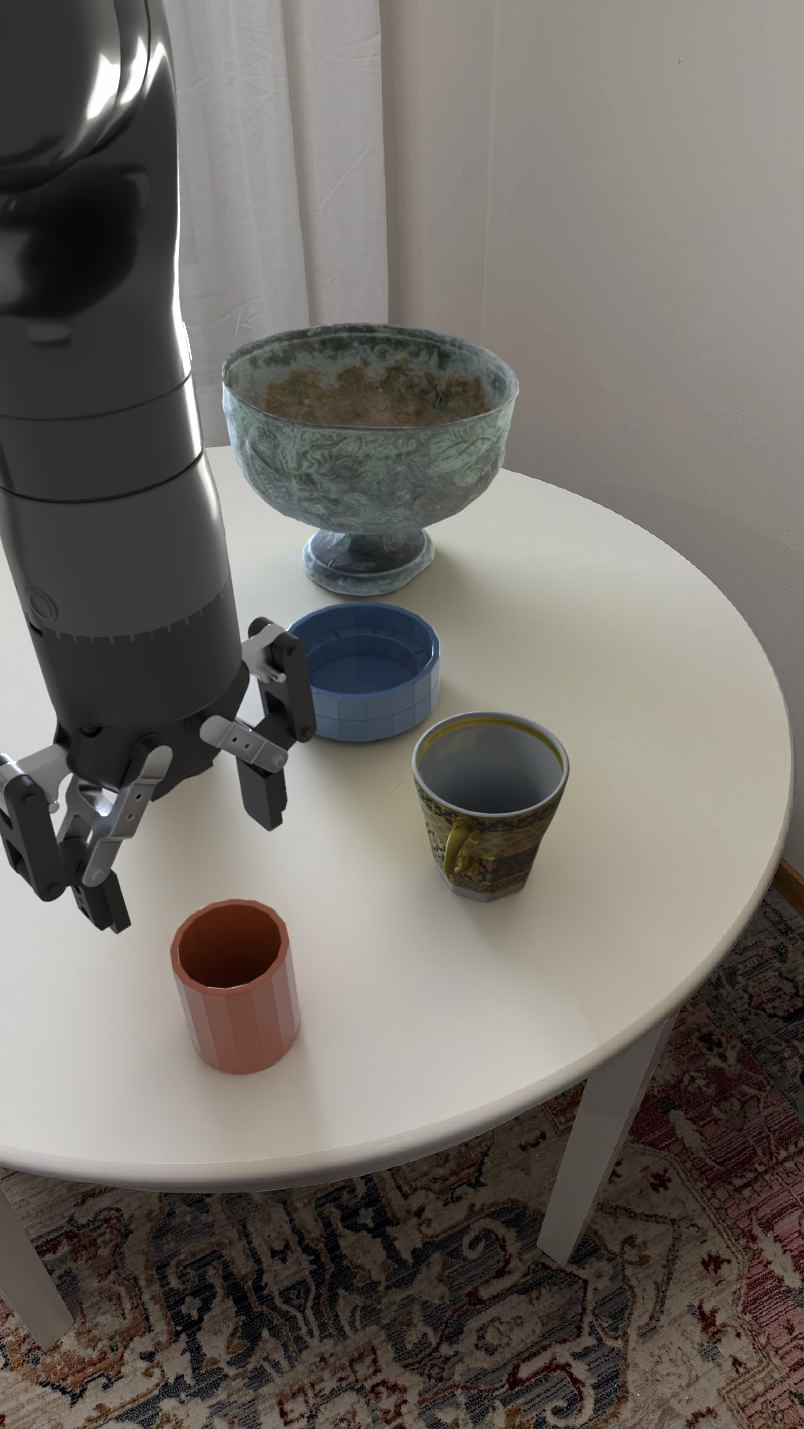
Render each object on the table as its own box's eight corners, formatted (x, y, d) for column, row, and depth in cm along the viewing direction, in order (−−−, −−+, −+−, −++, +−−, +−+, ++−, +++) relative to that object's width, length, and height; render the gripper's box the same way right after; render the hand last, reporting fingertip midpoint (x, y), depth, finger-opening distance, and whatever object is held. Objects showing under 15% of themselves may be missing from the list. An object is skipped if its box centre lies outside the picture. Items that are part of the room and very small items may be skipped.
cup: (198, 1086, 58) (176, 1007, 53) (187, 993, 63) (165, 912, 58) (309, 1059, 59) (298, 978, 54) (289, 970, 64) (277, 888, 59)
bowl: (298, 760, 79) (293, 711, 76) (271, 662, 89) (265, 615, 85) (459, 730, 81) (460, 681, 78) (415, 637, 91) (415, 591, 88)
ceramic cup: (441, 799, 75) (443, 696, 69) (571, 834, 72) (586, 729, 66) (374, 930, 66) (369, 825, 60) (521, 976, 63) (532, 871, 57)
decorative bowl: (185, 547, 103) (159, 353, 90) (375, 472, 116) (378, 294, 103) (349, 672, 88) (348, 463, 75) (546, 571, 101) (574, 378, 88)
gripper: (221, 470, 42) (261, 755, 53) (-114, 608, 35) (11, 909, 45) (340, 534, 38) (358, 829, 48) (-10, 706, 30) (101, 1012, 41)
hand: (191, 867), depth 47 cm, fingers open, 8 cm apart
